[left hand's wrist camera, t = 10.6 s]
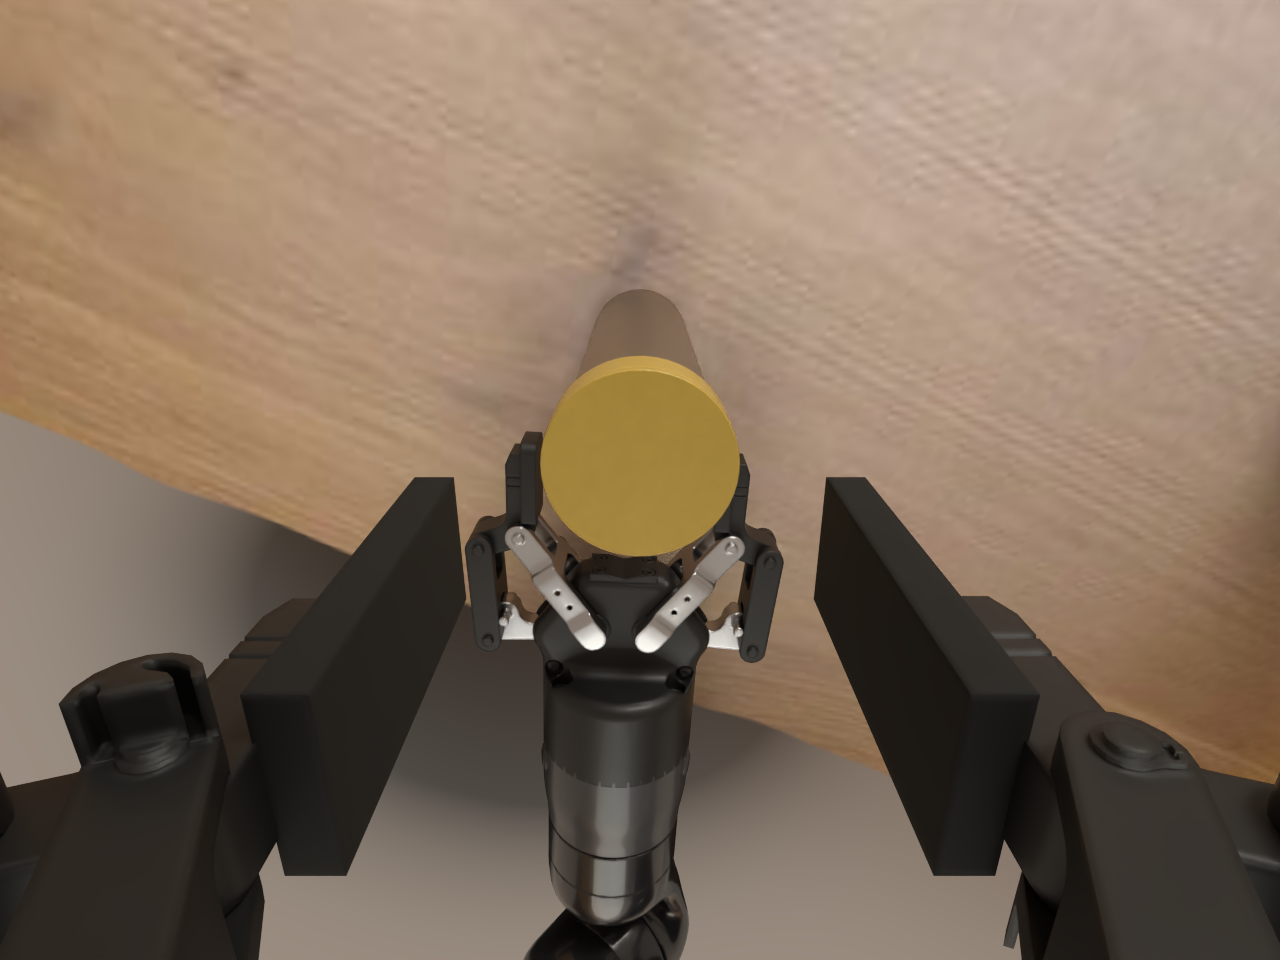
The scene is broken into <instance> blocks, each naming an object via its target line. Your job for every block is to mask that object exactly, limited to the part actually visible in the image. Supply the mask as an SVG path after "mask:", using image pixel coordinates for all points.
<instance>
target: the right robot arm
mask: <svg viewBox="0 0 1280 960" xmlns="http://www.w3.org/2000/svg"><path fill="white" fill-rule="evenodd" d="M542 443H543V435H542V432H527V431H526V433H525V435H524V437H523V439H522V441H521V444H515V445H514V447H513V449H512V451H511V452H510V454H509V457H508V459H507V462H506V464H505V474H506V513H505V514H503V515H501V516H497V517H493V516H484V517H482V518H480V519H479V521H478V522H477V524H476V526H475V528H474V530H473V532H472V534H471V536H470V538H469V540H468V542H467V544H466V546H465V555H466V564H467V572H468V581H469V590H470V598H471V607H472V616H473V625H474V633H475V641H476V644H477V646H478V647H479V648H480V649H482V650H484V651H494V650H496V649H498V647H499V646H500V644H501V641H502V640H514V639H517V640H518V639H534V640H535V642H536V644H537V645H538V647H539V648H540V650H541V652H542V655H543V660H544V743H543V747H542V763H543V765H544V780H545V788H546V794H547V798H548V806H549V866H550V874H551V881H552V884H553V887H554V890H555V892H556V895H557V897H558V899H559V900H560V902H561V903H562V905H563V906H564V907H565V908H566V909H565V910H564V911H563V912H562V913H561V915H560V916H559V917H558V918H557V919H556V920H555V921H554V922H553V923H552V924H551V925H550V926H549V927H548V928H547V929H546V930H545V931H544V932H543V933H542V935H541V936H540V937H539V938H538V939H537V940H536V941H535V942H534V943H533V945H532V946H531V948H530V949H529V951H528V952H527V954H526V955H525V958H524V960H679V959H680V957H681V955H682V952H683V949H684V946H685V943H686V939H687V934H688V926H689V919H688V910H687V906H686V903H685V899H684V895H683V892H682V888H681V884H680V879H679V875H678V872H677V868H676V866H675V862H674V858H673V857H674V849H675V837H676V826H677V814H678V808H679V804H680V801H681V797H682V793H683V789H684V785H685V778H686V773H687V770H688V766H689V760H690V753H689V749H688V747H689V737H690V726H691V715H692V704H693V693H694V682H695V671H696V665H697V662H698V660H699V658H700V656H701V655H702V653H703V652H704V651H705V650H706V648H707V647H710V648H720V649H730V650H739V652H740V656H741V658H742V659H743V660H744V661H746V662H749V663H754V662H758V661H760V660H761V659H762V658H763V657H764V655H765V651H766V646H767V641H768V637H769V632H770V627H771V622H772V617H773V612H774V607H775V603H776V598H777V593H778V588H779V583H780V578H781V573H782V569H783V563H784V562H783V558H782V555H781V553H780V551H779V550H778V547H777V545H776V539H775V537H774V534H773V533H772V531H770V530H769V529H766V528H759V529H756V528H753V527H751V526H748V525H747V524H746V523H745V517H746V508H747V499H748V490H749V481H750V473H749V470H748V467H747V464H746V461H745V459H744V456H743V454H739V457H740V469H739V477H738V483H737V486H736V489H735V493H734V495H733V498H732V500H731V502H730V504H729V506H728V508H727V509H726V511H725V512H724V514H723V515H722V517H721V518H720V519H719V520H718V521H717V523H716V524H715V525H714V526H713V527H712V528H711V529H710V530H709V531H708V532H706V533H705V534H704V535H703V536H701V537H700V538H698V539H697V540H696V541H694V542H692V543H690V544H688V545H687V546H685V547H683V548H682V549H681V551H680V552H679V553H678V554H677V555H676V556H675V557H674V558H673V559H672V560H671V561H670V562H669V563H668V564H667V565H666V564H664V563H662V562H659V561H657V556H637V557H632V558H627V559H623V558H620V557H616V556H613V555H609V554H593V555H592V558H589V559H586V560H584V561H582V560H581V558H580V557H579V556H578V555H577V553H576V552H575V551H574V550H573V548H572V547H571V546H570V545H569V543H568V542H567V541H566V540H565V539H564V538H563V537H562V536H558V535H557V534H556V533H555V532H554V531H553V530H552V528H551V527H550V526H549V525H548V523H547V522H546V521H545V520H544V518H543V517H542V516H541V515H540V512H541V509H542V506H543V482H542V478H541V468H540V458H541V448H542ZM507 550H512V552H513V553H514V554H515V555H516V556H517V558H518V559H519V560H520V561H521V562H522V564H523V565H524V566H525V567H526V568H527V569H528V571H529V572H530V574H531V577H532V581H533V583H534V585H535V586H536V588H537V589H538V590H539V591H540V592H541V594H542V595H543V596H544V597H545V598H546V600H545V601H544V603H543V604H542V605H541V606H540V607H539V609H538V611H537V613H531V612H529V611H527V610H526V609H525V608H524V607H523V605H522V602H521V599H520V598H519V597H518V596H517V594H516V593H515V592H509V593H508V587H507V577H506V566H505V555H504V551H507ZM738 560H740V561H743V562H745V566H744V572H743V577H742V582H741V588H740V593H739V599H738V603H736V602H731V603H730V604H729V605H728V606H727V607H725V609H724V610H723V613H722V615H721V616H720V617H719V618H718V619H717V620H714V621H707V618H706V616H705V614H704V613H703V611H702V610H701V608H700V607H699V605H700V604H701V603H702V602H703V601H704V600H705V599H706V598H707V597H708V596H709V595H710V594H711V593H712V591H713V589H714V587H715V584H716V582H717V581H718V580H719V579H720V578H721V577H722V576H723V575H724V574H725V573H726V572H727V571H728V570H729V569H730V568H731V567H732V566H733V565H734V564H735V563H736V562H737V561H738Z"/></svg>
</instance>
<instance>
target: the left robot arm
mask: <svg viewBox="0 0 1280 960" xmlns="http://www.w3.org/2000/svg"><path fill="white" fill-rule="evenodd" d="M465 600H466V593H465V583H464V573H463V564H462V554H461V544H460V534H459V525H458V515H457V505H456V495H455V485H454V477H415V478H414V479H413V480H412V481H411V483H410V484H409V485H408V486H407V488H406V489H405V490H404V491H403V493H402V494H401V495H400V496H399V498H398V499H397V500H396V501H395V503H394V504H393V505H392V506H391V508H390V509H389V510H388V511H387V512H386V514H385V515H384V516H383V517H382V519H381V520H380V521H379V522H378V524H377V525H376V526H375V527H374V529H373V530H372V531H371V532H370V534H369V535H368V536H367V537H366V539H365V540H364V541H363V542H362V544H361V545H360V546H359V547H358V548H357V550H356V551H355V552H354V553H353V555H352V556H351V557H350V558H349V560H348V561H347V562H346V563H345V565H344V566H343V567H342V568H341V570H340V571H339V572H338V573H337V575H336V576H335V577H334V578H333V580H332V581H331V582H330V583H329V585H328V586H327V587H326V588H325V590H324V591H323V592H322V593H321V594H320V596H319V597H318V598H317V599H291V600H289V601H288V602H286V603H284V604H283V605H281V606H280V607H278V608H276V609H275V610H273V611H271V612H270V613H268V614H266V615H265V616H263V617H262V619H261V620H260V621H259V622H258V623H257V624H256V625H255V626H254V627H253V628H252V630H251V631H250V632H249V633H248V634H247V635H246V636H245V640H244V641H241V642H240V643H239V644H238V645H237V646H236V647H235V648H234V650H233V651H232V652H231V653H230V654H229V659H225V660H224V661H223V662H222V663H221V664H220V665H219V666H218V667H217V668H216V670H215V671H214V672H213V673H212V674H211V675H210V676H209V677H208V678H206V674H205V671H204V667H203V664H202V663H201V662H200V661H199V660H197V659H196V658H194V657H193V656H191V655H185V654H178V653H163V654H152V655H146V656H142V657H138V658H135V659H131V660H127V661H123V662H120V663H118V664H115V665H113V666H111V667H109V668H107V669H104V670H102V671H100V672H97V673H95V674H93V675H92V676H90V677H89V678H87V679H86V680H84V681H83V682H81V683H80V684H78V685H77V686H75V687H74V688H72V689H71V691H70V692H69V693H68V694H67V695H66V696H65V697H64V698H63V700H62V701H61V702H60V703H59V706H60V709H61V712H62V715H63V717H64V720H65V723H66V726H67V728H68V731H69V734H70V737H71V739H72V742H73V745H74V748H75V750H76V753H77V756H78V759H79V761H80V764H81V769H80V771H79V772H76V773H73V774H68V775H64V776H59V777H54V778H49V779H45V780H40V781H35V782H31V783H26V784H21V785H17V786H12V787H6V785H5V783H4V780H3V778H2V775H1V773H0V960H258V958H259V949H260V940H261V931H262V921H263V912H264V902H265V900H264V894H263V888H262V884H261V880H260V876H259V872H260V870H261V868H262V866H263V865H264V863H265V861H266V859H267V857H268V856H269V854H270V852H271V850H272V849H273V847H274V845H275V843H276V842H277V846H278V850H279V854H280V858H281V862H282V866H283V870H284V874H285V876H346V875H347V873H348V870H349V868H350V866H351V863H352V861H353V859H354V857H355V854H356V852H357V849H358V847H359V845H360V843H361V840H362V838H363V836H364V833H365V831H366V829H367V827H368V824H369V822H370V820H371V817H372V815H373V813H374V810H375V808H376V806H377V803H378V801H379V799H380V797H381V794H382V792H383V790H384V787H385V785H386V783H387V780H388V778H389V776H390V773H391V771H392V769H393V766H394V764H395V762H396V760H397V757H398V755H399V753H400V750H401V748H402V746H403V743H404V741H405V739H406V737H407V734H408V732H409V730H410V727H411V725H412V723H413V720H414V718H415V716H416V713H417V711H418V709H419V707H420V704H421V702H422V700H423V697H424V695H425V693H426V690H427V688H428V686H429V683H430V681H431V679H432V677H433V674H434V672H435V670H436V667H437V665H438V663H439V660H440V658H441V656H442V653H443V651H444V649H445V647H446V644H447V642H448V640H449V637H450V635H451V633H452V630H453V628H454V626H455V623H456V621H457V619H458V616H459V614H460V612H461V610H462V607H463V605H464V603H465ZM814 600H815V603H816V605H817V607H818V610H819V612H820V614H821V617H822V619H823V621H824V623H825V626H826V628H827V630H828V633H829V635H830V637H831V640H832V642H833V644H834V647H835V649H836V651H837V653H838V656H839V658H840V660H841V663H842V665H843V667H844V670H845V672H846V674H847V677H848V679H849V681H850V683H851V686H852V688H853V690H854V693H855V695H856V697H857V700H858V702H859V704H860V707H861V709H862V711H863V713H864V716H865V718H866V720H867V723H868V725H869V727H870V730H871V732H872V734H873V737H874V739H875V741H876V743H877V746H878V748H879V750H880V753H881V755H882V757H883V760H884V762H885V764H886V767H887V769H888V771H889V773H890V776H891V778H892V780H893V783H894V785H895V787H896V790H897V792H898V794H899V797H900V799H901V801H902V803H903V806H904V808H905V810H906V813H907V815H908V817H909V820H910V822H911V824H912V827H913V829H914V831H915V833H916V836H917V838H918V840H919V843H920V845H921V847H922V850H923V852H924V854H925V857H926V859H927V861H928V863H929V866H930V868H931V870H932V873H933V875H934V876H995V874H996V870H997V866H998V862H999V858H1000V854H1001V850H1002V846H1003V842H1004V840H1005V841H1006V843H1007V845H1008V847H1009V848H1010V850H1011V852H1012V854H1013V855H1014V857H1015V859H1016V861H1017V863H1018V864H1019V866H1020V868H1021V870H1022V873H1021V876H1020V880H1019V884H1018V888H1017V891H1016V895H1015V899H1014V902H1013V906H1012V910H1011V914H1010V917H1009V921H1008V925H1007V929H1006V934H1005V940H1004V946H1006V947H1010V948H1013V949H1014V946H1015V942H1016V939H1017V935H1018V933H1019V938H1020V947H1021V956H1022V960H1280V773H1279V775H1278V778H1277V780H1276V782H1275V785H1274V784H1269V783H1265V782H1260V781H1255V780H1250V779H1246V778H1241V777H1236V776H1232V775H1227V774H1222V773H1218V772H1213V771H1208V770H1205V769H1201V768H1200V767H1199V765H1198V764H1197V763H1196V761H1195V760H1194V759H1193V757H1192V756H1191V755H1190V753H1189V752H1188V751H1187V749H1186V748H1184V747H1183V746H1182V745H1181V744H1179V743H1178V742H1177V741H1175V740H1174V739H1173V738H1171V737H1170V736H1169V735H1168V734H1166V733H1165V732H1163V731H1161V730H1159V729H1157V728H1155V727H1153V726H1151V725H1149V724H1147V723H1145V722H1143V721H1141V720H1137V719H1134V718H1131V717H1128V716H1124V715H1121V714H1118V713H1114V712H1106V711H1105V710H1104V709H1103V708H1102V707H1101V706H1100V705H1099V704H1098V703H1097V702H1096V700H1095V699H1094V698H1093V697H1092V696H1091V695H1090V694H1089V693H1088V692H1087V691H1086V689H1085V688H1084V687H1083V686H1082V685H1081V684H1080V683H1079V682H1078V681H1077V679H1076V678H1075V677H1074V676H1073V675H1072V674H1071V673H1070V672H1069V671H1068V670H1067V668H1066V667H1065V666H1064V665H1063V664H1062V663H1061V662H1060V661H1059V660H1058V658H1057V657H1056V656H1052V654H1051V653H1052V652H1051V651H1050V650H1049V649H1048V647H1047V646H1046V645H1045V644H1044V643H1043V642H1042V641H1041V640H1040V639H1036V634H1035V633H1034V632H1033V631H1032V630H1031V629H1030V628H1029V626H1028V625H1027V624H1026V623H1025V622H1024V621H1023V620H1022V619H1021V618H1020V617H1019V615H1018V614H1016V613H1015V612H1013V611H1011V610H1010V609H1008V608H1006V607H1005V606H1003V605H1002V604H1000V603H998V602H997V601H995V600H993V599H992V598H990V597H988V596H960V594H959V593H958V592H957V591H956V589H955V588H954V587H953V586H952V584H951V583H950V582H949V581H948V580H947V578H946V577H945V576H944V575H943V573H942V572H941V571H940V570H939V568H938V567H937V566H936V565H935V563H934V562H933V561H932V560H931V558H930V557H929V556H928V555H927V553H926V552H925V551H924V550H923V548H922V547H921V546H920V545H919V544H918V542H917V541H916V540H915V539H914V537H913V536H912V535H911V534H910V532H909V531H908V530H907V529H906V527H905V526H904V525H903V524H902V522H901V521H900V520H899V519H898V517H897V516H896V515H895V514H894V512H893V511H892V510H891V509H890V508H889V506H888V505H887V504H886V503H885V501H884V500H883V499H882V498H881V496H880V495H879V494H878V493H877V491H876V490H875V489H874V488H873V486H872V485H871V484H870V483H869V481H868V480H867V479H866V478H865V477H826V485H825V495H824V505H823V515H822V525H821V534H820V544H819V554H818V564H817V573H816V583H815V593H814Z"/></svg>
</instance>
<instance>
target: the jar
mask: <svg viewBox="0 0 1280 960" xmlns="http://www.w3.org/2000/svg"><path fill="white" fill-rule="evenodd" d="M629 356H651V357H658V358H662V359H666V360H670V361H672V362H675V363H678V364H680V365H682V366H684V367H686V368H688V369H690V370H691V371H693V372H694V373H695V374H697V375H698V376H700V377H701V378H702V379H703V380H704V378H703V375H702V372H701V369H700V366H699V364H698V361H697V358H696V355H695V352H694V349H693V347H692V344H691V341H690V338H689V335H688V332H687V330H686V327H685V324H684V321H683V319H682V316H681V314H680V312H679V311H678V309H677V308H676V307H675V305H674V304H673V303H672V302H671V301H670V300H668V299H667V298H666V297H664V296H662V295H661V294H658V293H656V292H653V291H649V290H631V291H627V292H624V293H622V294H619V295H618V296H616V297H614V298H613V299H612V300H610V301H609V302H608V303H607V304H606V305H605V306H604V308H603V309H602V311H601V312H600V314H599V316H598V318H597V321H596V324H595V327H594V330H593V333H592V335H591V338H590V341H589V344H588V347H587V350H586V352H585V355H584V358H583V361H582V364H581V367H580V370H579V372H578V375H577V378H576V380H577V379H578V378H579V377H581V376H582V375H583V374H584V373H586V372H587V371H589V370H591V369H592V368H594V367H596V366H598V365H600V364H602V363H605V362H607V361H610V360H614V359H617V358H622V357H629Z"/></svg>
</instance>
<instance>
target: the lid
mask: <svg viewBox="0 0 1280 960" xmlns="http://www.w3.org/2000/svg"><path fill="white" fill-rule="evenodd" d="M540 468H541V478H542V482H543V486H544V490H545V492H546V495H547V498H548V500H549V502H550V504H551V506H552V508H553V509H554V511H555V512H556V514H557V515H558V517H559V518H560V519H561V521H562V522H563V523H564V524H565V525H566V526H567V527H568V528H569V529H570V530H571V531H572V532H574V533H575V534H576V535H577V536H579V537H580V538H582V539H583V540H585V541H586V542H588V543H589V544H591V545H594V546H596V547H598V548H600V549H603V550H606V551H608V552H611V553H616V554H620V555H627V556H653V555H660V554H664V553H668V552H672V551H675V550H677V549H680V548H682V547H685V546H687V545H688V544H690V543H692V542H694V541H696V540H697V539H698V538H700V537H701V536H703V535H704V534H705V533H706V532H708V531H709V530H710V529H711V528H712V527H713V526H714V525H715V524H716V523H717V521H718V520H719V519H720V518H721V517H722V515H723V514H724V512H725V511H726V509H727V508H728V506H729V504H730V502H731V500H732V498H733V495H734V493H735V489H736V486H737V483H738V477H739V469H740V457H739V448H738V443H737V439H736V436H735V433H734V430H733V428H732V425H731V423H730V420H729V418H728V415H727V413H726V411H725V408H724V406H723V404H722V402H721V401H720V399H719V397H718V396H717V394H716V393H715V392H714V391H713V389H712V388H711V387H710V386H709V385H708V384H707V383H706V382H705V381H704V380H703V379H702V378H701V377H700V376H698V375H697V374H695V373H694V372H693V371H691V370H690V369H688V368H686V367H684V366H682V365H680V364H678V363H675V362H672V361H670V360H666V359H662V358H658V357H651V356H629V357H622V358H617V359H614V360H610V361H607V362H605V363H602V364H600V365H598V366H596V367H594V368H592V369H591V370H589V371H587V372H586V373H584V374H583V375H582V376H581V377H579V378H578V379H577V380H576V381H575V382H574V383H573V384H572V385H571V386H570V387H569V388H568V389H567V390H566V392H565V393H564V394H563V396H562V397H561V399H560V400H559V402H558V404H557V406H556V408H555V410H554V412H553V415H552V417H551V420H550V422H549V425H548V427H547V430H546V433H545V436H544V439H543V443H542V448H541V458H540Z"/></svg>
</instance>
